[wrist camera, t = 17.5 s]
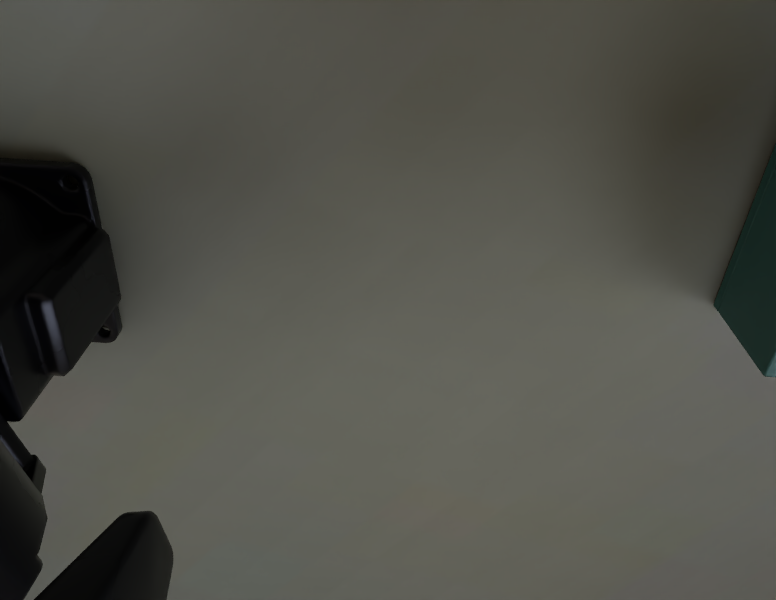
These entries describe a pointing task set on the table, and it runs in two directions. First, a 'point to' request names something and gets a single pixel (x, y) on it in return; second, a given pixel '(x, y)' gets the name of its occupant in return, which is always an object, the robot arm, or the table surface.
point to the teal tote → (754, 279)
